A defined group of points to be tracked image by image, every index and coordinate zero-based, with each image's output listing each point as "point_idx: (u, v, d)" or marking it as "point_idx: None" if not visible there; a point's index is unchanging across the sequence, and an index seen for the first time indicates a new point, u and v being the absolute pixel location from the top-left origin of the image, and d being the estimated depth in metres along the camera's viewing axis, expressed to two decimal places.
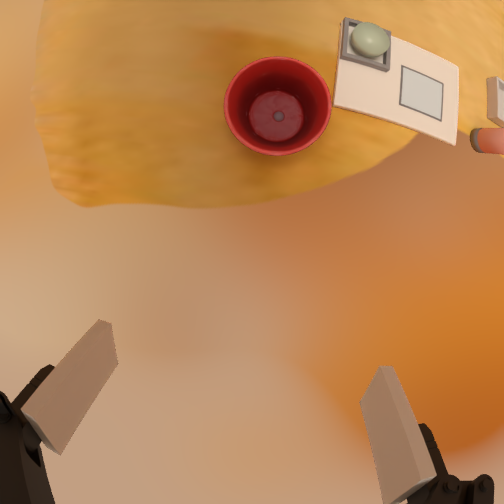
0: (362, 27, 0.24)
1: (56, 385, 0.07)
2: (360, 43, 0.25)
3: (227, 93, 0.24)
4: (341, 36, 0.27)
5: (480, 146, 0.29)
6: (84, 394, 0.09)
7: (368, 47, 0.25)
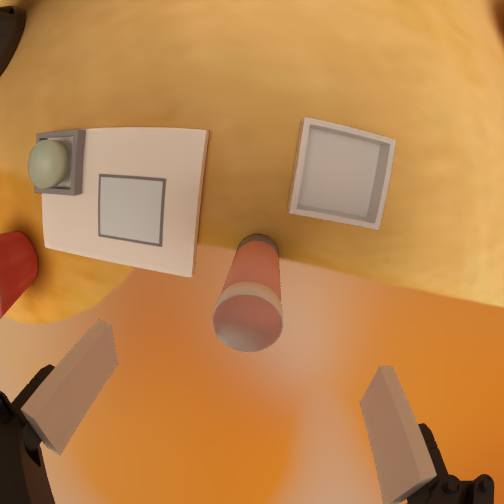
0: (34, 153, 0.20)
1: (56, 385, 0.07)
2: (33, 179, 0.21)
3: None
4: None
5: None
6: (84, 394, 0.09)
7: (38, 182, 0.21)
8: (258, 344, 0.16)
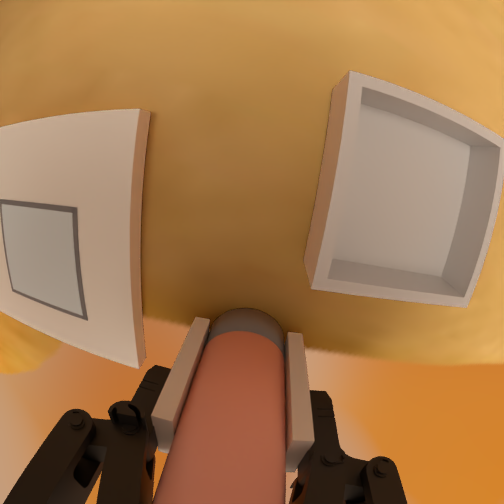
0: None
1: (182, 384, 0.09)
2: None
3: None
4: None
5: None
6: None
7: None
8: None
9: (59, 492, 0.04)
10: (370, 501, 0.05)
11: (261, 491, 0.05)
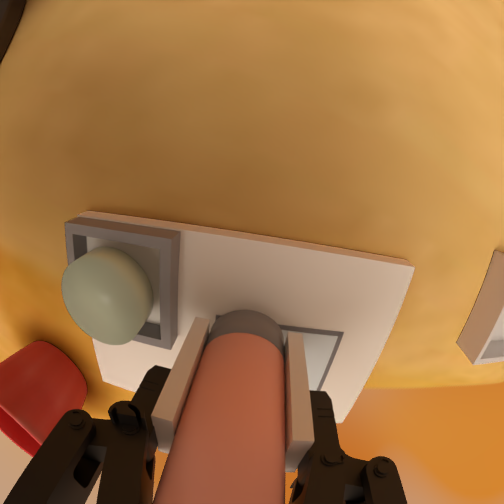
0: (74, 278, 0.12)
1: (182, 384, 0.09)
2: (80, 323, 0.13)
3: None
4: None
5: None
6: None
7: (95, 332, 0.13)
8: None
9: (59, 492, 0.04)
10: (370, 501, 0.05)
11: (261, 493, 0.05)
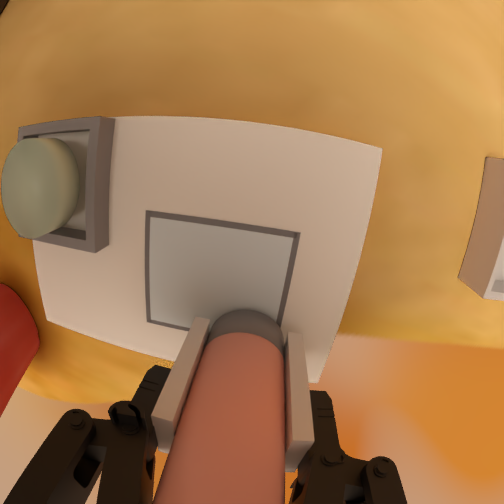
0: (11, 166, 0.09)
1: (182, 384, 0.09)
2: (11, 218, 0.10)
3: None
4: None
5: None
6: None
7: (21, 225, 0.10)
8: None
9: (59, 492, 0.04)
10: (370, 501, 0.05)
11: (260, 492, 0.05)
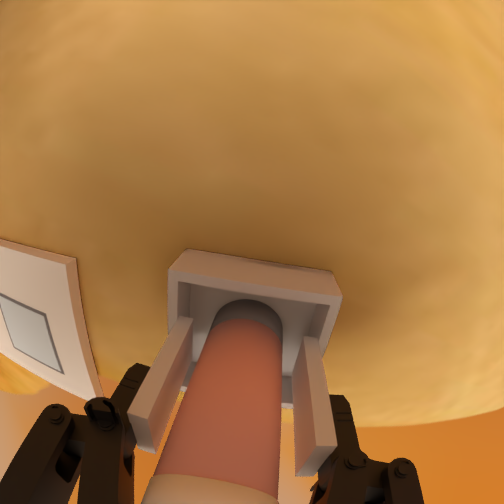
0: None
1: (160, 382, 0.09)
2: None
3: None
4: None
5: None
6: (174, 389, 0.11)
7: None
8: None
9: (43, 486, 0.04)
10: (389, 501, 0.05)
11: (255, 459, 0.06)
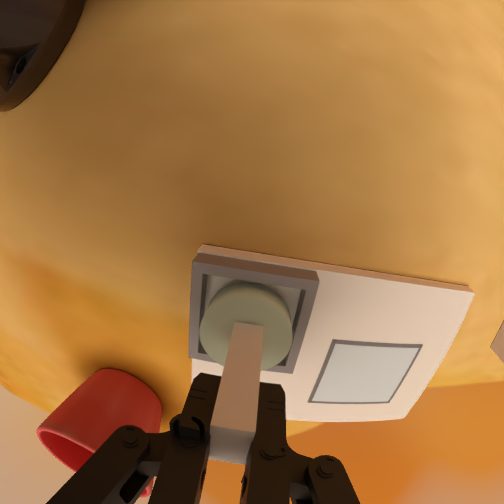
0: (221, 316, 0.14)
1: (236, 390, 0.09)
2: (215, 356, 0.15)
3: None
4: None
5: None
6: None
7: None
8: None
9: None
10: None
11: None
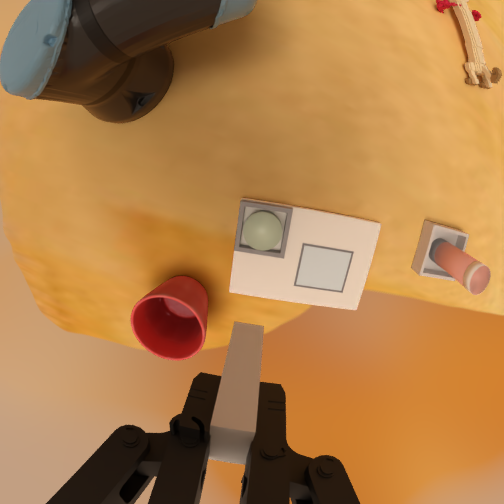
0: (253, 221, 0.36)
1: (236, 390, 0.09)
2: (249, 242, 0.36)
3: (131, 319, 0.35)
4: None
5: (436, 262, 0.36)
6: None
7: (256, 245, 0.37)
8: (480, 290, 0.27)
9: None
10: None
11: None
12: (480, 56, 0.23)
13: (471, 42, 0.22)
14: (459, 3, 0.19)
